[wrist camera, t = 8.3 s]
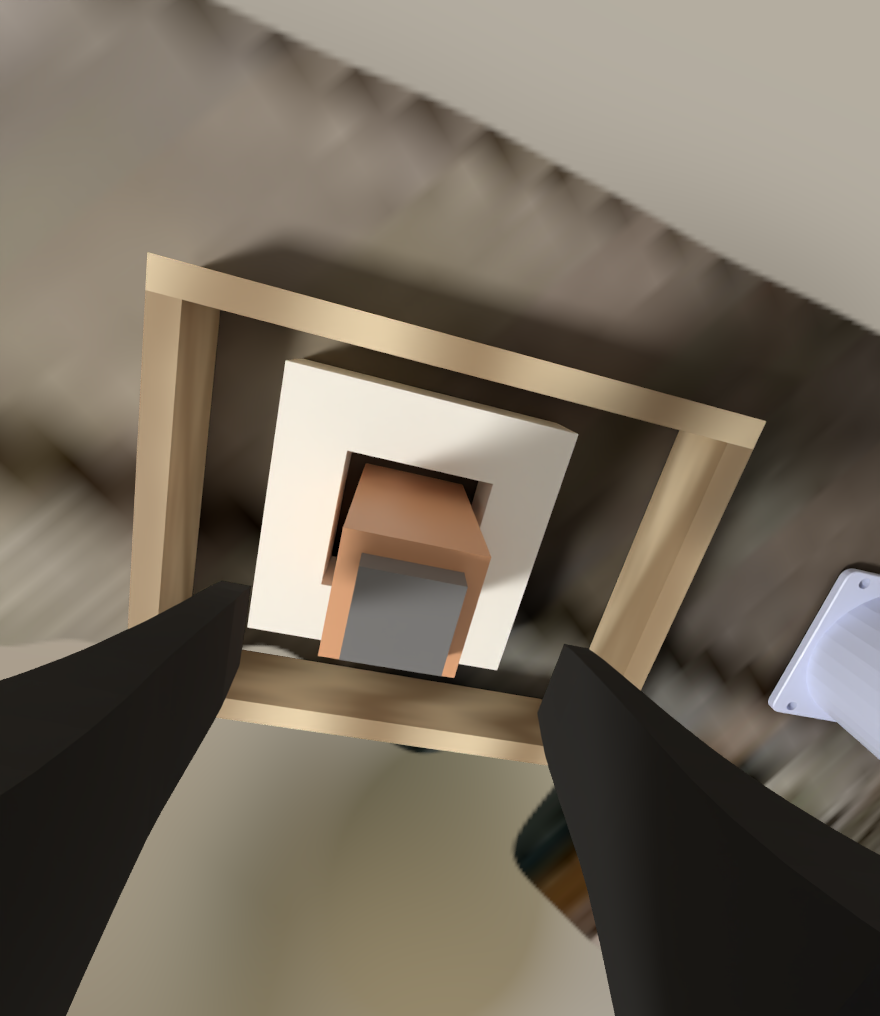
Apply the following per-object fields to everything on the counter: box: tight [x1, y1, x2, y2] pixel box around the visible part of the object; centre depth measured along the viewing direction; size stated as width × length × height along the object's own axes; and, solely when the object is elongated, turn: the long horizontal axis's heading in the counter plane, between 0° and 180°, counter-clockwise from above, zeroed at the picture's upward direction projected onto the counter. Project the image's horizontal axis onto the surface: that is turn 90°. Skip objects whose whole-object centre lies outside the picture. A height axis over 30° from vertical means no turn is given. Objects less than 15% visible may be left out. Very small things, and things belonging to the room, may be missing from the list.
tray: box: [128, 252, 766, 765], centre depth 18 cm, size 20×16×3 cm
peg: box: [318, 463, 491, 678], centre depth 16 cm, size 4×4×8 cm
